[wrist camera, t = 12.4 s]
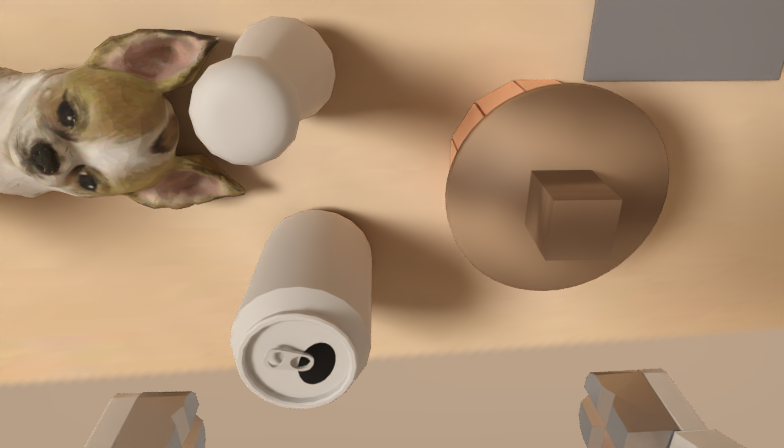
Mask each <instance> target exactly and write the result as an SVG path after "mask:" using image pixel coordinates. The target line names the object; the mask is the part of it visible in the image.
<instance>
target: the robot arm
mask: <svg viewBox="0 0 784 448" xmlns="http://www.w3.org/2000/svg"><path fill="white" fill-rule="evenodd" d="M584 387H585V389H586V390H587V393H588V396H587V397H586V398H585V399H584V400H583V401H582V402H581V405H580V411H579V421H580V429H581V432H582V436H583V439H584V441H585V444H586V446H587V448H745V447H744V446H742V445H741V444H739V443H737V442H736V441H734V440H732V439H731V438H729V437H727V436H726V435H724V434H723V433H721V432H719V431H717V430H709V429H708V428H707V427H706V425H705V424H704V422H703V421H702V420H701V418H700V417H699V416H698V414H697V413H696V412H695V410H694V409H693V407H692V406H691V405H690V403H689V402H688V401H687V399H686V398H685V397H684V395H683V394H682V392H681V391H680V390H679V388H678V387H677V386H676V384H675V383H674V381H673V380H672V379H671V378H670V376H669V375H668V373H667V372H666V371H664V370H663V369H661V368H660V369H643V370H626V371H608V372H591V373H589V375H588V376H587V378H586V382H585V386H584ZM198 406H199V403H198V400H197V396H196V393H194V392H192V391H187V392H144V393H122V394H121V393H118V394H116V395H115V396H114V397H113V398H112V399H111V400H110V402H109V403H108V405H107V407H106V409H105V411H104V412H103V414H102V416H101V418H100V420H99V421H98V423H97V425H96V427H95V429H94V430H93V432H92V434H91V436H90V438H89V440H88V441H87V443H86V445H85V447H84V448H205V442H206V438H205V427H204V423H203V420H202V419H200V418H199V417H198V416H197V415H196V412H197V409H198Z"/></svg>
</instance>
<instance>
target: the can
mask: <svg viewBox="0 0 784 448" xmlns="http://www.w3.org/2000/svg"><path fill="white" fill-rule="evenodd" d="M371 303H372V256H371V248H370V245H369V243H368V241H367V239H366V237H365V235H364V233H363V232H362V231H361V230H360V229H359V228H358V227H357V226H356V225H355V224H354V223H353V222H352V221H351V220H349V219H347V218H345V217H343V216H341V215H339V214H337V213H333V212H328V211H323V210H310V211H301V212H298V213H296V214H294V215H291V216H289V217H286V218H285V219H284V220H282V221H281V222H280V223H279V224H278V225H277V226H276V227H274V228H273V230H272V232H271V234H270V235H269V237H268V239H267V241H266V243H265V246H264V248H263V251H262V253H261V256H260V258H259V261H258V263H257V266H256V268H255V271H254V273H253V276H252V278H251V280H250V283H249V285H248V288H247V290H246V293H245V295H244V298H243V300H242V303H241V305H240V308H239V310H238V313H237V315H236V318H235V320H234V323H233V325H232V333H231V342H230V344H231V347H232V351H233V354H234V358H235V361H236V364H237V368H238V371H239V375H240V377H241V378H242V380H243V381H244V383H245V384H246V385H247V386H248V388H249V389H250V390H251V391H253V392H254V393H255V394H257V395H258V396H259V397H261V398H262V399H263V400H266V401H268V402H270V403H273V404H276V405H278V406H281V407H288V408H295V409H304V408H314V407H319V406H322V405H324V404H327V403H330V402H333V401H334V400H336V399H337V398H338V397H340V396H341V395H343V394H344V393H345V392H346V391H347V390H348V389H349V387H350V386H351V385H352V383H353V382H354V380H355V379H356V378H357V377H358V376H359V374H360V373H361V371H362V370H363V369H364V367H365V366H366V365H367V361H368V357H369V353H370V349H371Z"/></svg>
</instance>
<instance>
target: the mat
mask: <svg viewBox="0 0 784 448" xmlns="http://www.w3.org/2000/svg"><path fill="white" fill-rule="evenodd" d="M783 62H784V0H596V1H595V8H594V14H593V20H592V27H591V33H590V40H589V46H588V52H587V59H586V65H585V71H584V78H583V80H585V81H673V80H778V78H779V75H780V72H781V69H782V66H783Z"/></svg>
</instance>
